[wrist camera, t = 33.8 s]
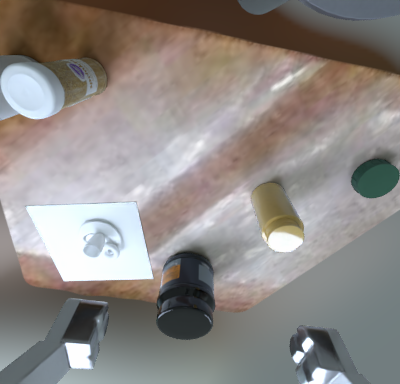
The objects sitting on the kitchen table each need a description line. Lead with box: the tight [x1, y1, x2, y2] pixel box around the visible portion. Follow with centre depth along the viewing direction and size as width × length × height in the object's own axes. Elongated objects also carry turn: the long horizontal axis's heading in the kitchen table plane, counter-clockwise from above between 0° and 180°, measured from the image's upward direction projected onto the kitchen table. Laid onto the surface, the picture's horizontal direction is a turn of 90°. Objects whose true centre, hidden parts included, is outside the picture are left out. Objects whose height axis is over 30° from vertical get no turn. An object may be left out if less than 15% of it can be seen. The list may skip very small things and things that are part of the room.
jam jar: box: [251, 183, 304, 253], centre depth 37 cm, size 6×6×11 cm
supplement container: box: [156, 253, 215, 340], centre depth 45 cm, size 10×10×12 cm
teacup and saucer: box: [77, 220, 122, 261], centre depth 45 cm, size 9×8×4 cm
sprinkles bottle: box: [0, 58, 107, 119], centre depth 26 cm, size 5×5×14 cm
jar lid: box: [351, 159, 400, 198], centre depth 38 cm, size 6×6×2 cm
